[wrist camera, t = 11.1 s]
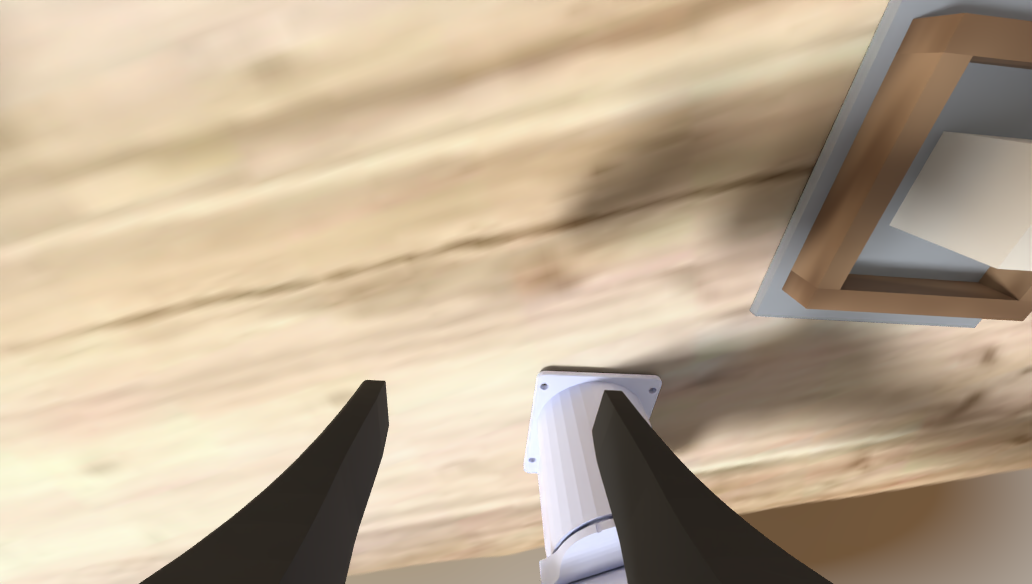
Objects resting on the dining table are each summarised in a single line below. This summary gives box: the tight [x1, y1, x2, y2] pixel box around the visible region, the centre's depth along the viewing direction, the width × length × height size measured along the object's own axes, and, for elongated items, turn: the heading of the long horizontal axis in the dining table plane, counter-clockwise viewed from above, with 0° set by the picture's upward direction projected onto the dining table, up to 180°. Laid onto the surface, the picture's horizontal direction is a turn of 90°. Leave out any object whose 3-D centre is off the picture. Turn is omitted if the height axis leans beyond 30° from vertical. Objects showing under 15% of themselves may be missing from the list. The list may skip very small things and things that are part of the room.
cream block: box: [890, 131, 1032, 271], centre depth 17 cm, size 4×4×5 cm
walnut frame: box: [782, 13, 1032, 321], centre depth 18 cm, size 12×12×2 cm
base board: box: [750, 0, 1032, 328], centre depth 19 cm, size 16×14×1 cm
